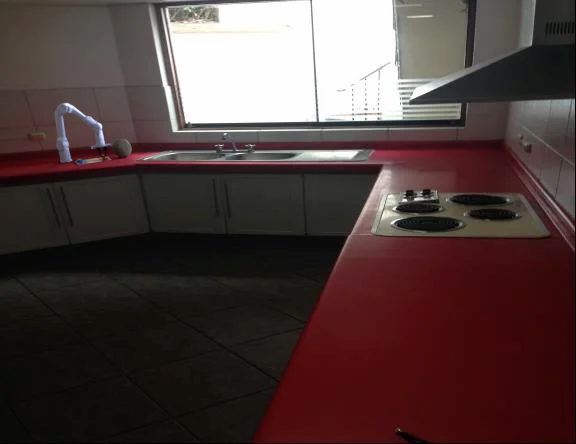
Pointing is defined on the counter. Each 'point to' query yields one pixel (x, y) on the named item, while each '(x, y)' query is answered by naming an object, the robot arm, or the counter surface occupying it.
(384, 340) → the counter surface
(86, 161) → the board
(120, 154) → the cantaloupe
